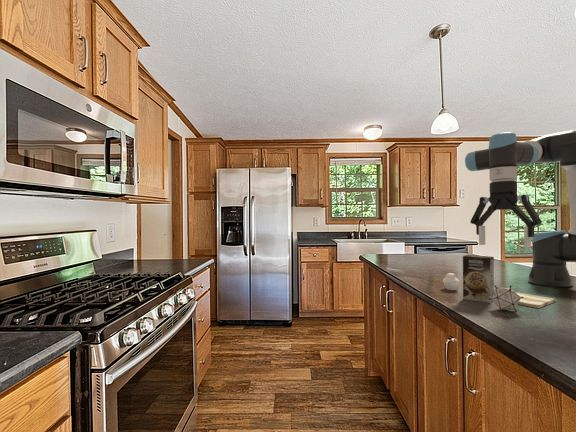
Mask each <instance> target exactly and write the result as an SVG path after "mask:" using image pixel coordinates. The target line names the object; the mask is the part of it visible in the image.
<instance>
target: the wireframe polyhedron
mask: <svg viewBox="0 0 576 432" xmlns="http://www.w3.org/2000/svg"><path fill="white" fill-rule="evenodd" d="M516 292H517V291H515V290H513V289H512V285H509V287H508V286H507V287H503V286H502V287H500V286H499V287H497V285H494V293H493V296H492V298H491V299H488V300H492V302H493V304H495V305H496V306H497V307H498V309H499V312H500V313H501V312H502V311H505V310H506V311H515V312H516V313H517V312H518V310H517V307H518V305H519V304H518V303H519V301H520V299H521V298H524V297H520V296H519V295H518V294H517V293H516Z"/></svg>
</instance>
